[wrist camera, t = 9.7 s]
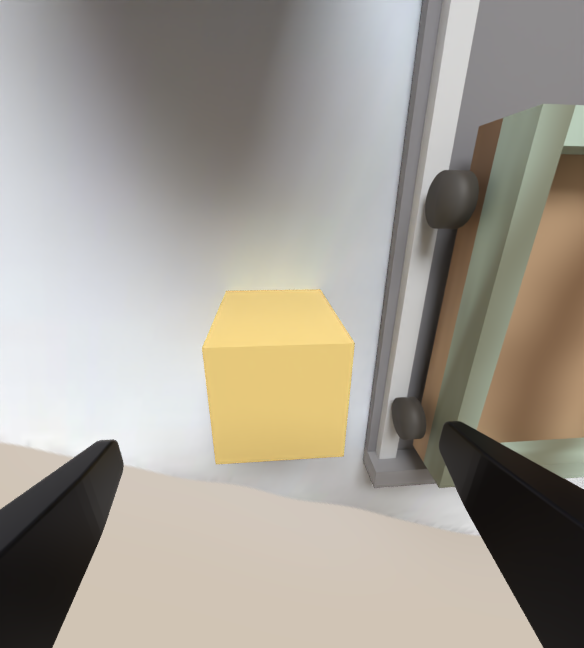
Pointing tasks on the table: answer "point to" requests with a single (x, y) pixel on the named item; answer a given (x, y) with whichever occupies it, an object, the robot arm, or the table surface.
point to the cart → (510, 296)
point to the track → (455, 154)
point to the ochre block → (277, 377)
